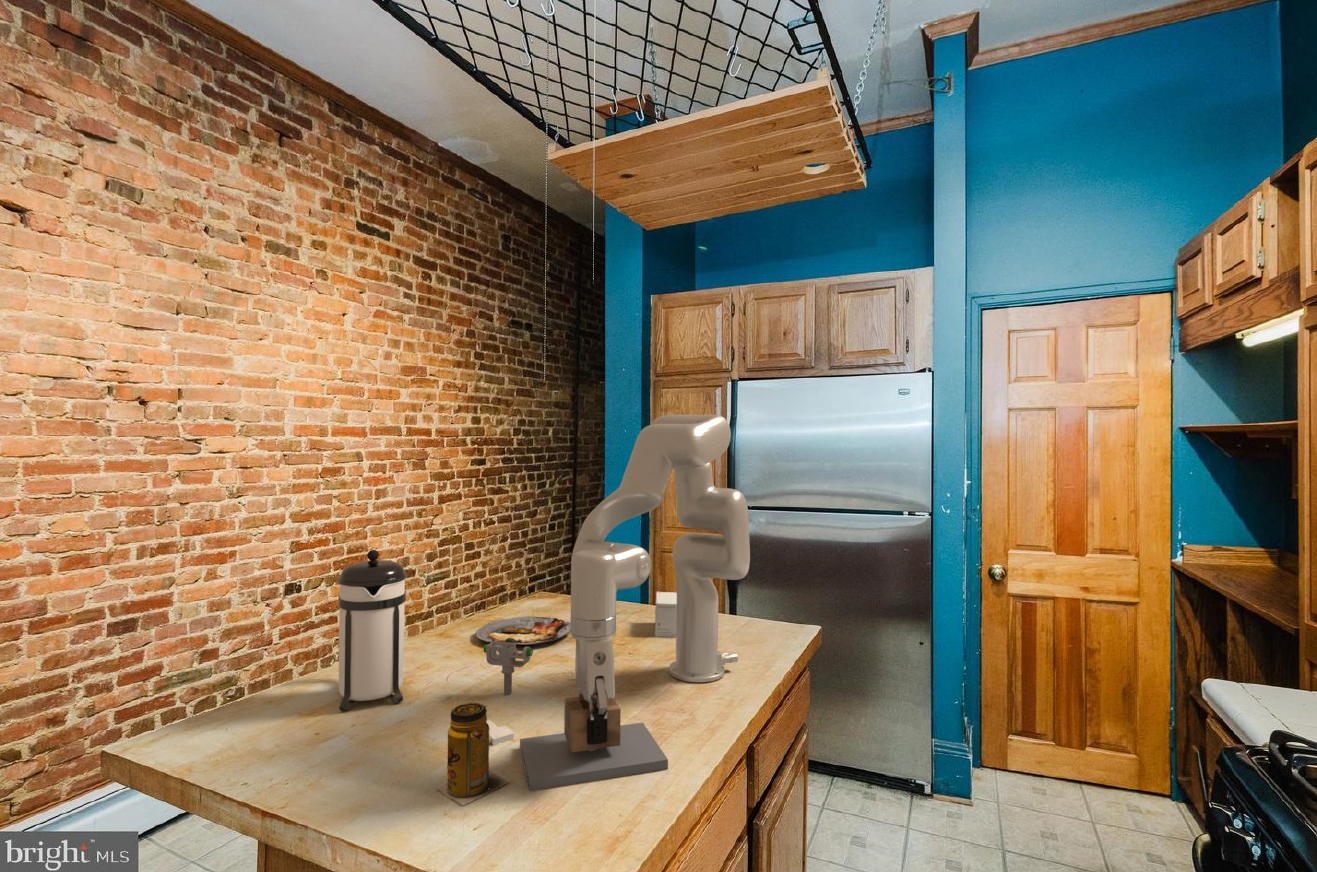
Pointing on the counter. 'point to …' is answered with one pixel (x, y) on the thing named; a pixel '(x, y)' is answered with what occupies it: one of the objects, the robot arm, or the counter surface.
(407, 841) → the counter surface
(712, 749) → the counter surface
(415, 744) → the counter surface
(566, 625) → the food plate
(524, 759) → the pin board
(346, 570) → the coffee press
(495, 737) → the corner connector
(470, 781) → the condiment
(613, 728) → the hollow block
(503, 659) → the mechanical component
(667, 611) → the supplement box
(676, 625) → the robot arm
